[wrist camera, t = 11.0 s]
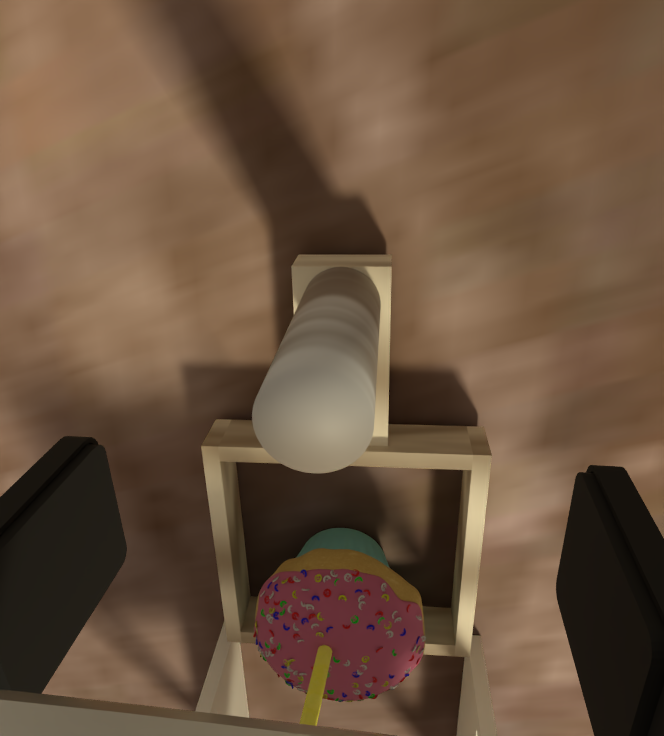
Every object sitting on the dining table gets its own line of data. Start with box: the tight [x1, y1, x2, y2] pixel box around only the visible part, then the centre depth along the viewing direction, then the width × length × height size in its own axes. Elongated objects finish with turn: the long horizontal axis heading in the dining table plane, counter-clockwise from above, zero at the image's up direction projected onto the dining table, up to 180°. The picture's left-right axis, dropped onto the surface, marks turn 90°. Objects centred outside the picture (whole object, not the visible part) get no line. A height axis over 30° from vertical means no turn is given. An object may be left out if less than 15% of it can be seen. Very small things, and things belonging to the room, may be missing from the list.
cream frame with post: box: [201, 255, 492, 657], centre depth 24 cm, size 21×13×12 cm, turn 1°
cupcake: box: [253, 528, 426, 726], centre depth 27 cm, size 9×8×12 cm
